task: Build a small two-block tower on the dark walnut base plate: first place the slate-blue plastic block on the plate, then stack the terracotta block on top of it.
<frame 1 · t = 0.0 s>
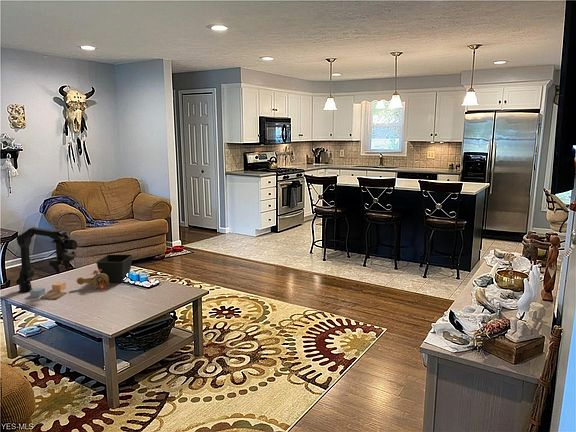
hand: (62, 271, 286), 15 cm above the table, tool pointing down, fingers open, 9 cm apart
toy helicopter: (95, 288, 297), on the table
flower pot: (116, 280, 314), on the table
terracotta block: (59, 289, 294), on the table
walnut base plate: (53, 296, 282), on the table
slate-blue block: (37, 295, 283), on the table
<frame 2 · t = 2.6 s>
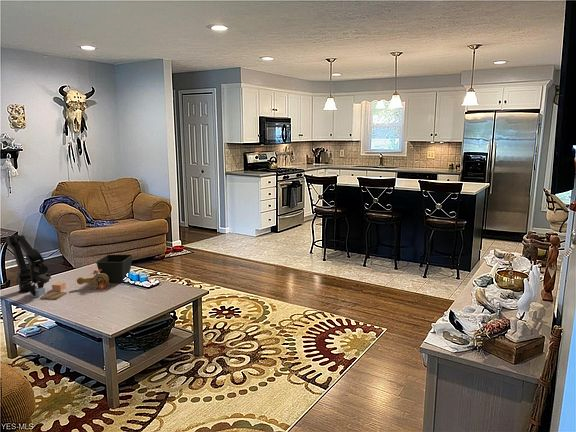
hand: (37, 294, 283), 1 cm above the table, tool pointing down, fingers closed on slate-blue block, 6 cm apart
slate-blue block: (37, 295, 283), on the table, touching gripper
everything else where it was.
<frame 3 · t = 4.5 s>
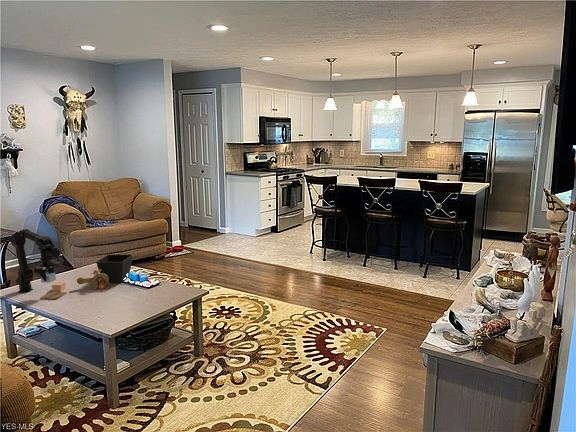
hand: (48, 279, 280), 12 cm above the table, tool pointing down, fingers closed on slate-blue block, 6 cm apart
slate-blue block: (48, 280, 280), point 11 cm above the table, touching gripper
everything else where it was.
when the fingers open (3 cm above the table, at t = 6.7 s): slate-blue block stays where it is, resting on walnut base plate.
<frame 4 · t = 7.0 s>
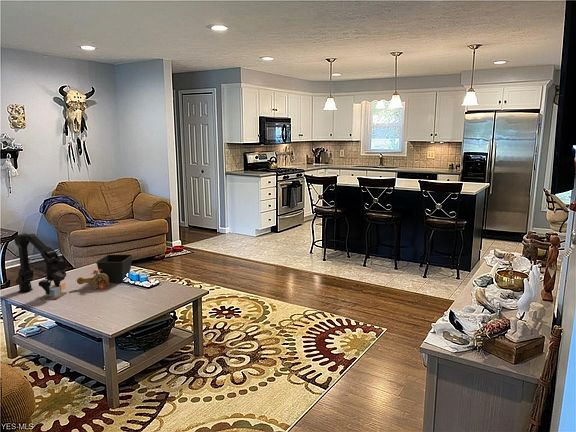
hand: (53, 291, 281), 3 cm above the table, tool pointing down, fingers open, 9 cm apart
slate-blue block: (53, 294, 282), point 1 cm above the table, touching walnut base plate
everything else where it was.
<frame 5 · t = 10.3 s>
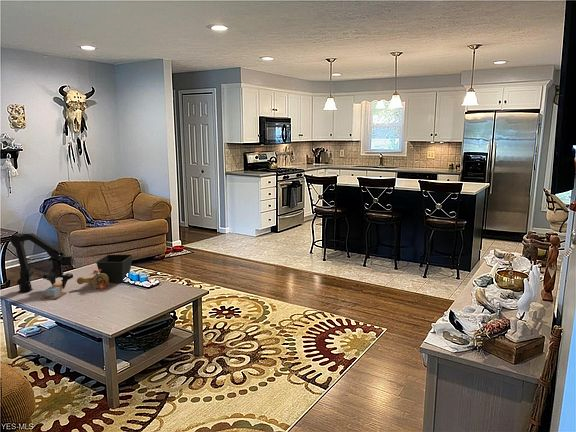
hand: (59, 288, 294), 1 cm above the table, tool pointing down, fingers closed on terracotta block, 6 cm apart
terracotta block: (59, 289, 294), on the table, touching gripper
everything else where it was.
when the fingers open (8 cm above the table, at t = 14.2 s): terracotta block drops 1 cm, resting on slate-blue block.
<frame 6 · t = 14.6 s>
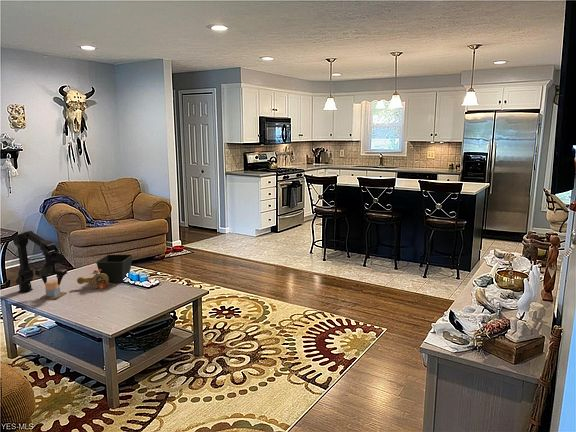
hand: (52, 284, 281), 8 cm above the table, tool pointing down, fingers open, 9 cm apart
terracotta block: (52, 288, 281), point 5 cm above the table, touching slate-blue block
slate-blue block: (53, 294, 282), point 1 cm above the table, touching terracotta block, walnut base plate
everything else where it was.
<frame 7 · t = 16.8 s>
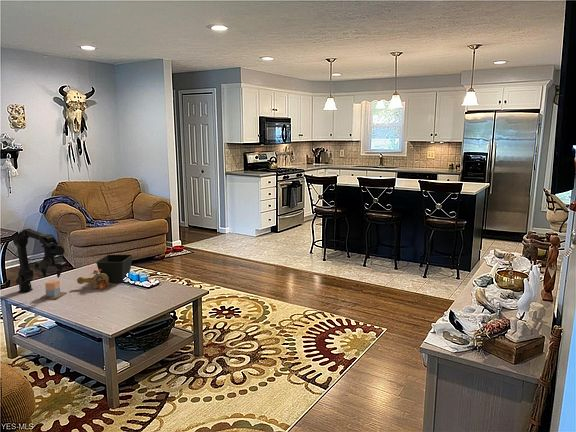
hand: (51, 277, 280), 13 cm above the table, tool pointing down, fingers open, 9 cm apart
nothing on the table moved.
at the end: slate-blue block 0.0 cm off-centre on the walnut base plate, point 1.0 cm above the walnut base plate's base; terracotta block 0.1 cm off-centre on the slate-blue block, point 4.5 cm above the slate-blue block's base; terracotta block tilted 0° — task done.
